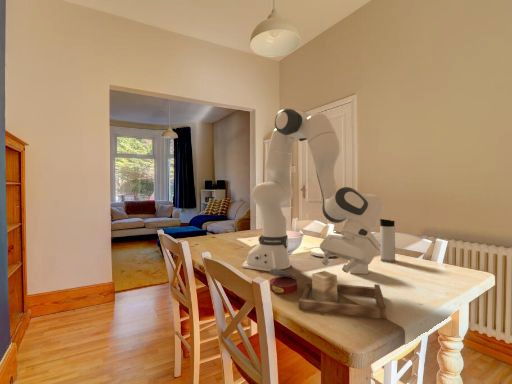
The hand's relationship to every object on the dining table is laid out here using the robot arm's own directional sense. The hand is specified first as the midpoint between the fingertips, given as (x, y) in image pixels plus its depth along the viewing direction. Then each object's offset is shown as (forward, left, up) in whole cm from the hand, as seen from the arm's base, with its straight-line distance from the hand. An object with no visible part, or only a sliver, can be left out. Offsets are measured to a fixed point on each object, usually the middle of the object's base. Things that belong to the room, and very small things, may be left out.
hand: (333, 267), depth 91 cm
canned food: (-18, +3, -10) cm, 21 cm away
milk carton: (+8, +30, -10) cm, 32 cm away
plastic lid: (-8, +55, -10) cm, 56 cm away
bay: (+2, -3, -10) cm, 11 cm away
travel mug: (+22, +50, -10) cm, 55 cm away
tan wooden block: (-3, -3, -10) cm, 10 cm away
